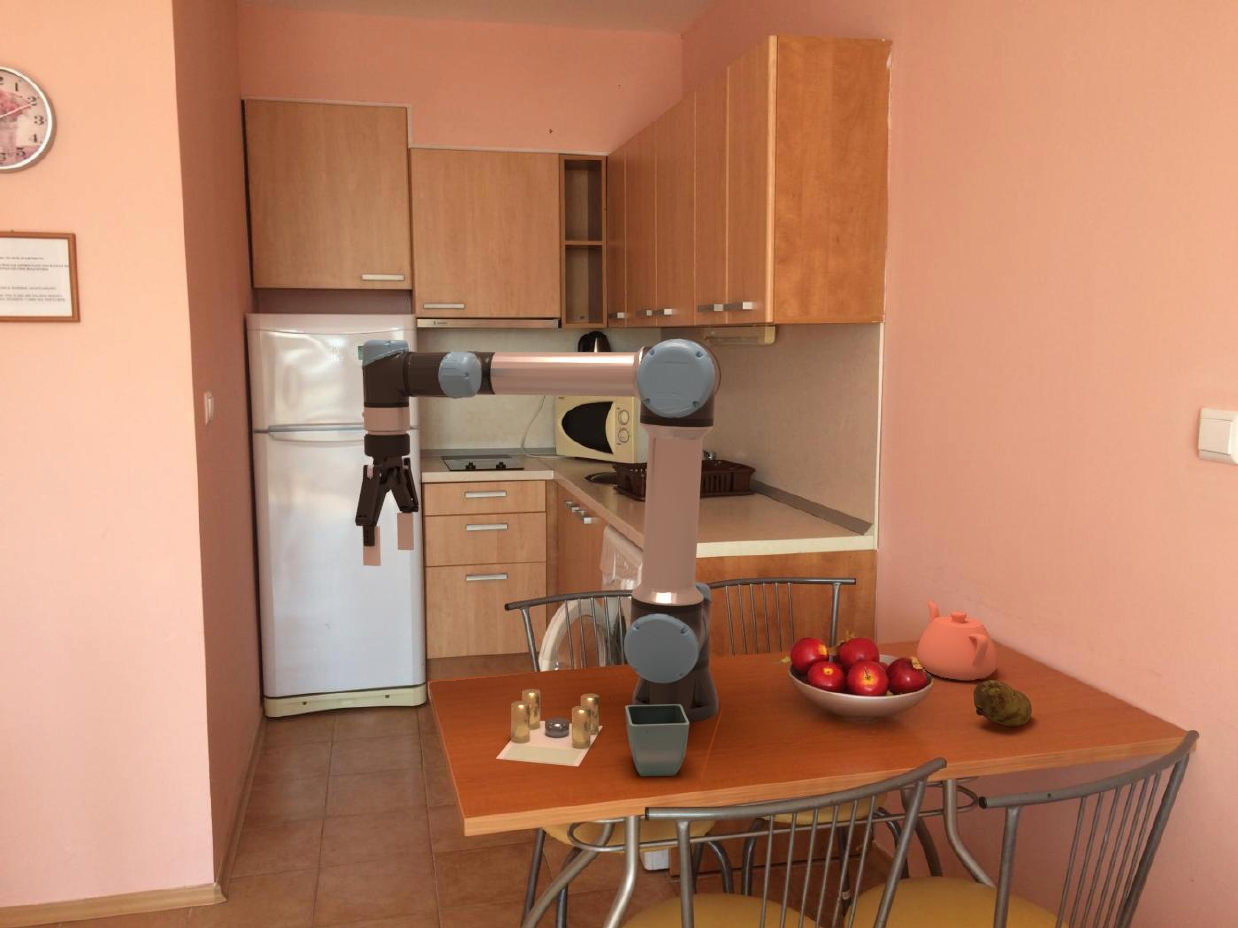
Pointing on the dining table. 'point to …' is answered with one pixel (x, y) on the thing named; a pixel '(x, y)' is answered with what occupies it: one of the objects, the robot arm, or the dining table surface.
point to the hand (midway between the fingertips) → (389, 557)
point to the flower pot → (657, 738)
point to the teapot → (956, 646)
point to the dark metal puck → (557, 727)
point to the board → (546, 749)
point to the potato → (1001, 703)
